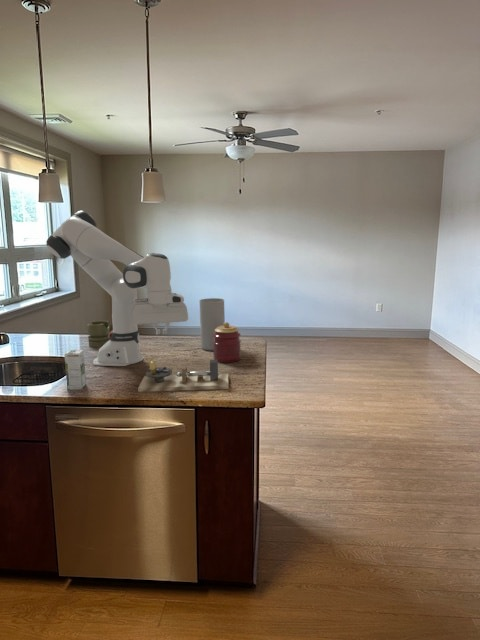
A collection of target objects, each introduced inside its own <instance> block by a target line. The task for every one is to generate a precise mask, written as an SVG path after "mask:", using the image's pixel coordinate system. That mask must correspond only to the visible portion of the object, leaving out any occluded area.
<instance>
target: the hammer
mask: <svg viewBox="0 0 480 640" xmlns="http://www.w3.org/2000/svg"><path fill="white" fill-rule="evenodd" d="M220 374H221V372H220V370H219V363H218V360H214V359H210V360H209V371H206V370H205V371H187V372H186V377H187V376H210V381H212V380H218V376H219V375H220ZM176 375H177V377H182V371H178V372H177V373H176Z"/></svg>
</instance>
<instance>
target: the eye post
mask: <svg viewBox="0 0 480 640" xmlns="http://www.w3.org/2000/svg"><path fill="white" fill-rule="evenodd" d="M181 372H182V384H186V382H187V377H188V376H187V377H186V372H188V363H185V362H183V363H182V367H181Z"/></svg>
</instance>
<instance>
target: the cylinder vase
mask: <svg viewBox="0 0 480 640" xmlns="http://www.w3.org/2000/svg"><path fill="white" fill-rule="evenodd" d="M225 315H226V314H225V299H224V298H214V297H213V298H212V297H211V298H201V299H199V324H200V328H199V330H200V346H201V347H200V348H201V349H202V350H204V351H210V352H211V351H213V352H214V346H213V341H214V337H213V334H214V333H215V331H214V330H215V329H216V328H217V327H219V326H224V323H225V320H226V319H225V318H226V316H225Z"/></svg>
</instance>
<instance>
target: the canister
mask: <svg viewBox="0 0 480 640" xmlns="http://www.w3.org/2000/svg"><path fill="white" fill-rule="evenodd" d="M214 331H215V333H214V334H213V337H214V341H213V346H214V351H213V354H212V355H213V360H218V362H219V363H235V362H238V361H240V360H241V357H242V353H241V342H242V341H241V338H240V336H241V333H240V332H239V331H240V330H239V328H238V327H237V326H235V325H230V323H229V322H227V321H226V322H225V323H224V326H219V327H217V328H216V329H215V330H214Z"/></svg>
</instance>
